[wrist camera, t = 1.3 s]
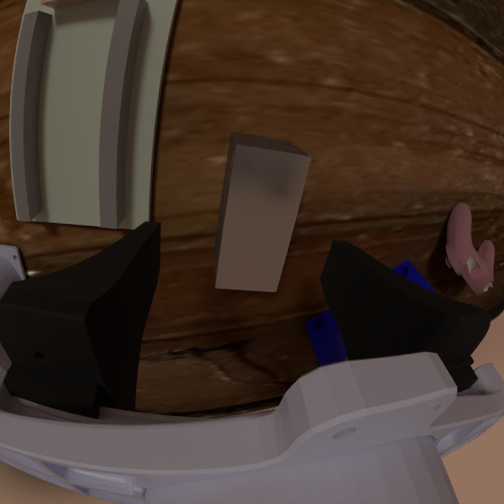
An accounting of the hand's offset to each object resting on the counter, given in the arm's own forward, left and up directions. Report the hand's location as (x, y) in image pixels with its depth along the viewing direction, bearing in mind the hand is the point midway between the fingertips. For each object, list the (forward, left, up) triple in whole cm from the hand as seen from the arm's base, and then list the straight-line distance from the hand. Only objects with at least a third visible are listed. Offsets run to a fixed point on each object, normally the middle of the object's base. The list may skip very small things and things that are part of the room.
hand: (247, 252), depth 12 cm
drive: (-1, -1, -10) cm, 10 cm away
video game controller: (-2, -24, -10) cm, 26 cm away
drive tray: (+5, +12, -10) cm, 16 cm away
